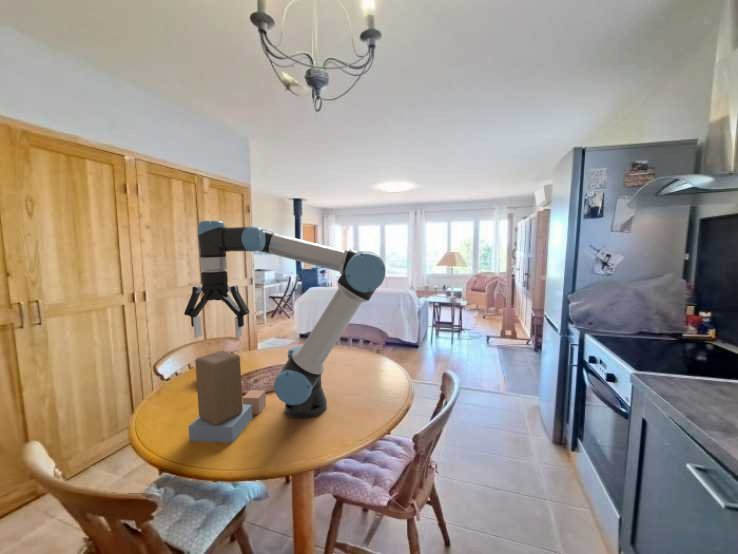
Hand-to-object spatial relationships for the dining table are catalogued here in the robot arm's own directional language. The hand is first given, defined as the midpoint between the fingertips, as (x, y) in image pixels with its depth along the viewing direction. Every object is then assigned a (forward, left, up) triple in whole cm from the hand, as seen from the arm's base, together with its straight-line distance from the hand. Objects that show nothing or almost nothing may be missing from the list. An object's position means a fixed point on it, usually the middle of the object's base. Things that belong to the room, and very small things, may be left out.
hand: (218, 336), depth 103 cm
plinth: (0, 0, -31) cm, 31 cm away
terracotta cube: (-5, -13, -31) cm, 34 cm away
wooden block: (0, +1, -27) cm, 27 cm away
